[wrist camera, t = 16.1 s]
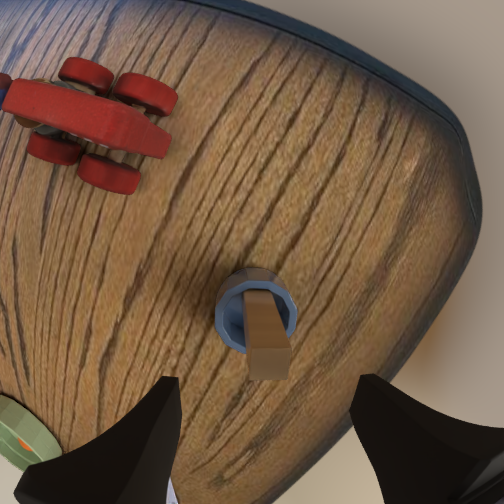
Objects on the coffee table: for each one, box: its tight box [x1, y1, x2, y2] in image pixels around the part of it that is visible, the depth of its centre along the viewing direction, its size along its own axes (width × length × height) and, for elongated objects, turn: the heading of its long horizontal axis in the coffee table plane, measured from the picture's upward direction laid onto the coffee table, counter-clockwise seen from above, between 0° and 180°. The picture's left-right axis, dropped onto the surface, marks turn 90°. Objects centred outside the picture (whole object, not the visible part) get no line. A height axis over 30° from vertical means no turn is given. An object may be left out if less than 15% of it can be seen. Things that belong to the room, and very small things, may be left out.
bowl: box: [0, 394, 62, 472], centre depth 20 cm, size 12×12×4 cm
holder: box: [215, 267, 297, 354], centre depth 19 cm, size 5×5×3 cm
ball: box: [18, 437, 32, 451], centre depth 20 cm, size 3×3×3 cm
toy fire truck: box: [0, 57, 178, 195], centre depth 12 cm, size 7×12×10 cm, turn 64°
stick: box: [242, 288, 292, 380], centre depth 15 cm, size 2×2×9 cm
